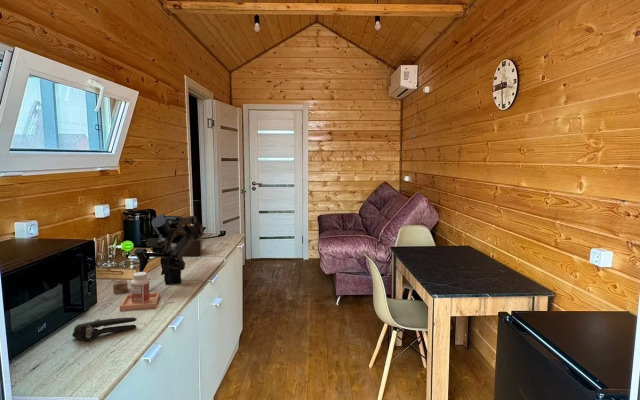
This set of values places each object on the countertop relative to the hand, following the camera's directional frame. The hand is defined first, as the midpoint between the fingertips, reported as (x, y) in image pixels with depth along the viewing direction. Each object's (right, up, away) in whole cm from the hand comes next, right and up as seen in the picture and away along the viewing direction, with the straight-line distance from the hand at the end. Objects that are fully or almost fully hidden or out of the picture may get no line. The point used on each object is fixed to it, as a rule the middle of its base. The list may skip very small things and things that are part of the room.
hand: (150, 273), depth 151 cm
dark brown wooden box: (-9, -2, +69) cm, 70 cm away
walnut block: (-15, -9, +6) cm, 18 cm away
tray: (-1, -10, -6) cm, 12 cm away
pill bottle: (-1, -10, -6) cm, 12 cm away
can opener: (0, -13, -32) cm, 35 cm away
